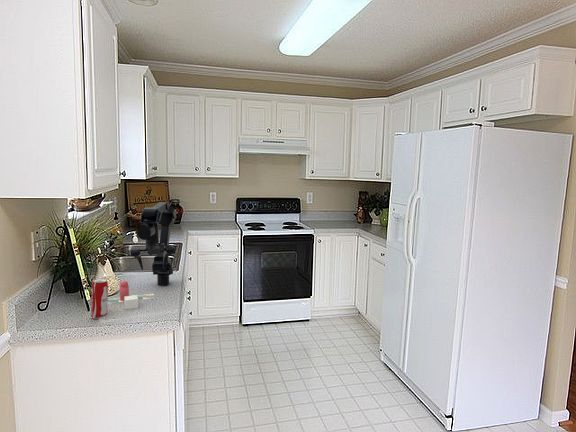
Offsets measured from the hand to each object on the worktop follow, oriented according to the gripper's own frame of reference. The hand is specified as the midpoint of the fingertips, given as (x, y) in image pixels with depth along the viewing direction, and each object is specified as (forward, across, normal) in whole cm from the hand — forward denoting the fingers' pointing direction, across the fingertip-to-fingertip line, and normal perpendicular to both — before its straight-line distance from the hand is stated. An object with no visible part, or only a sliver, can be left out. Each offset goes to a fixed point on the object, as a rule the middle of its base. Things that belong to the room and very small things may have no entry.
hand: (153, 268), depth 175 cm
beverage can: (+13, -22, -16) cm, 30 cm away
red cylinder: (+12, -12, -2) cm, 17 cm away
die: (+13, -10, -12) cm, 20 cm away
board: (+13, -10, -2) cm, 17 cm away
